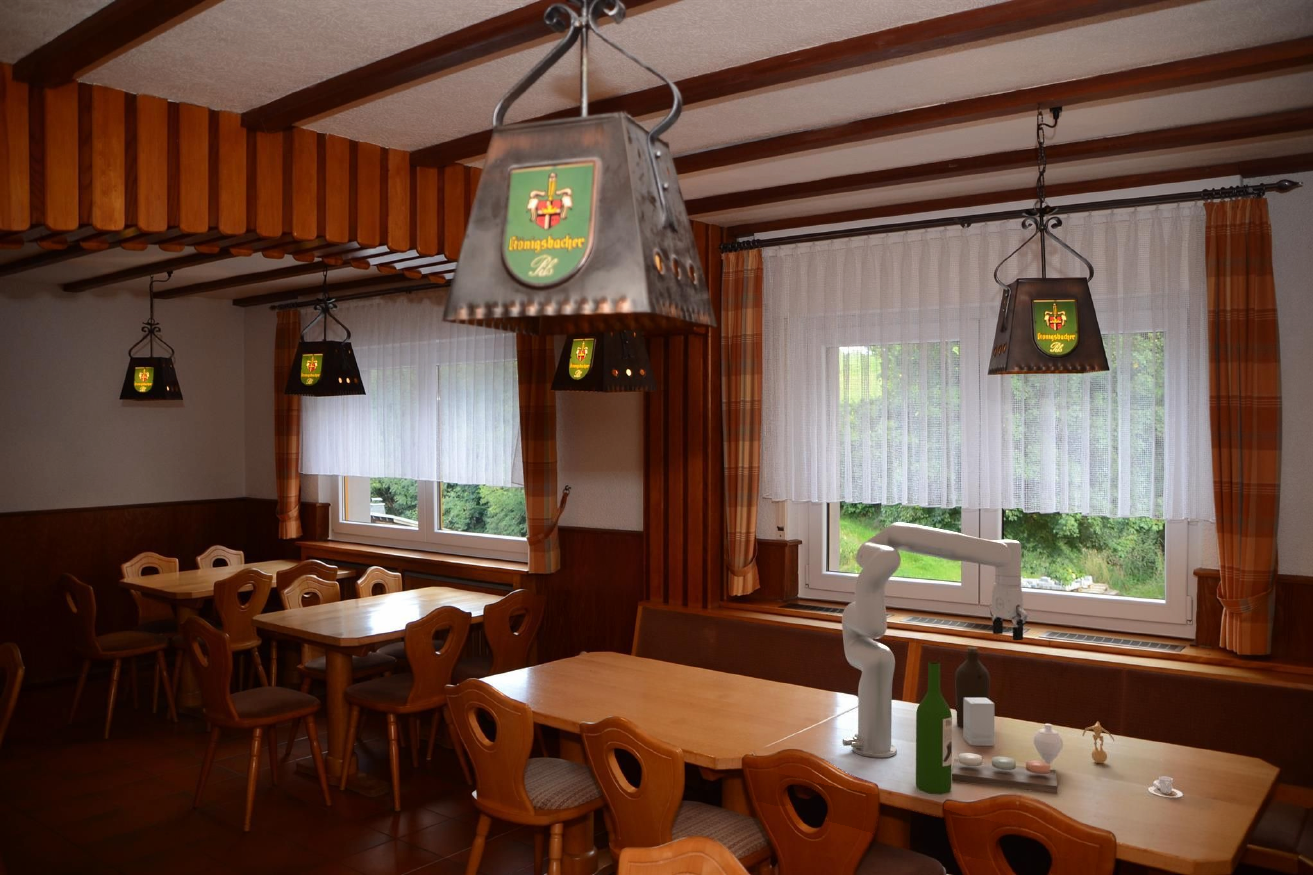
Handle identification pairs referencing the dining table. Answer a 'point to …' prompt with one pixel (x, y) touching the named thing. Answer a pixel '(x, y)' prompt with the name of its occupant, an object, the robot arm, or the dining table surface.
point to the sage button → (1003, 763)
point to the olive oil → (970, 682)
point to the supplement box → (978, 721)
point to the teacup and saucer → (1164, 787)
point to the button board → (1004, 777)
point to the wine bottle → (933, 738)
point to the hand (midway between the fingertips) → (1007, 636)
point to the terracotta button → (1038, 767)
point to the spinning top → (1048, 743)
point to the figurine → (1097, 754)
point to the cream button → (970, 759)
